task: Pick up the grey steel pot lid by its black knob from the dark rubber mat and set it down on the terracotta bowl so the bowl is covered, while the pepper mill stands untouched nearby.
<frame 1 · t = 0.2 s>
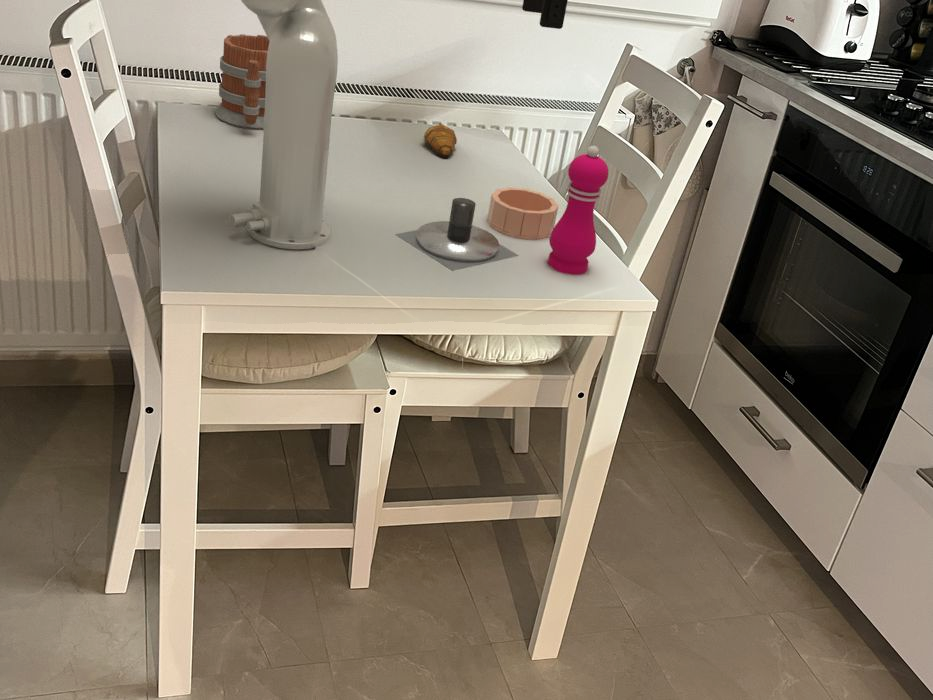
hand: (541, 19, 141), 36 cm above the table, tool pointing down, fingers open, 9 cm apart
mat: (456, 247, 158), on the table
lid: (457, 244, 158), resting on mat
mug: (251, 123, 196), on the table
pepper mill: (566, 268, 158), on the table
bowl: (519, 227, 169), on the table
croissant: (438, 149, 200), on the table
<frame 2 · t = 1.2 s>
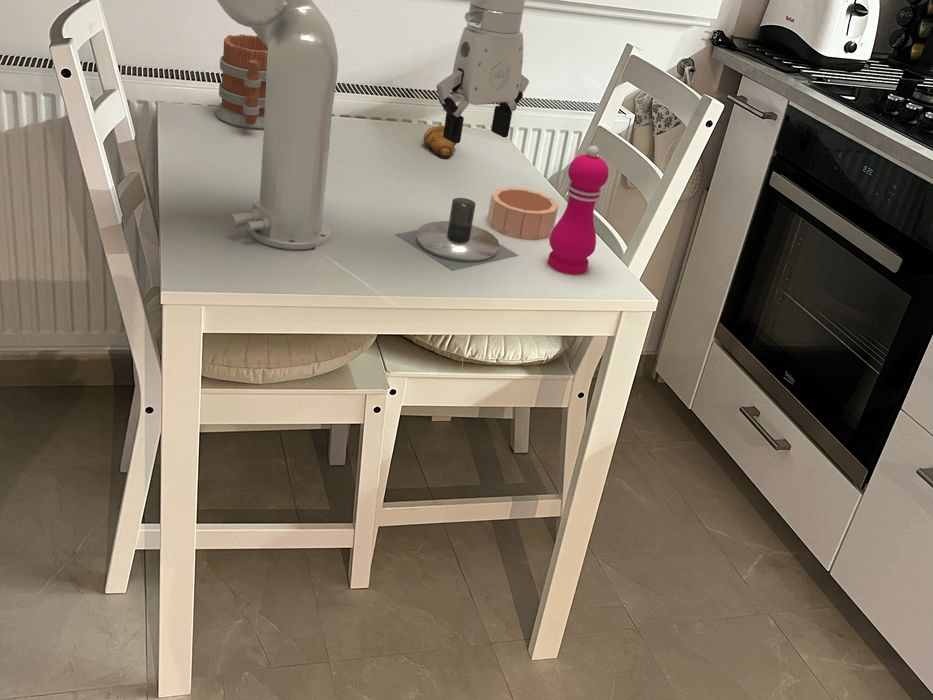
hand: (475, 137, 149), 18 cm above the table, tool pointing down, fingers open, 9 cm apart
nothing on the table moved.
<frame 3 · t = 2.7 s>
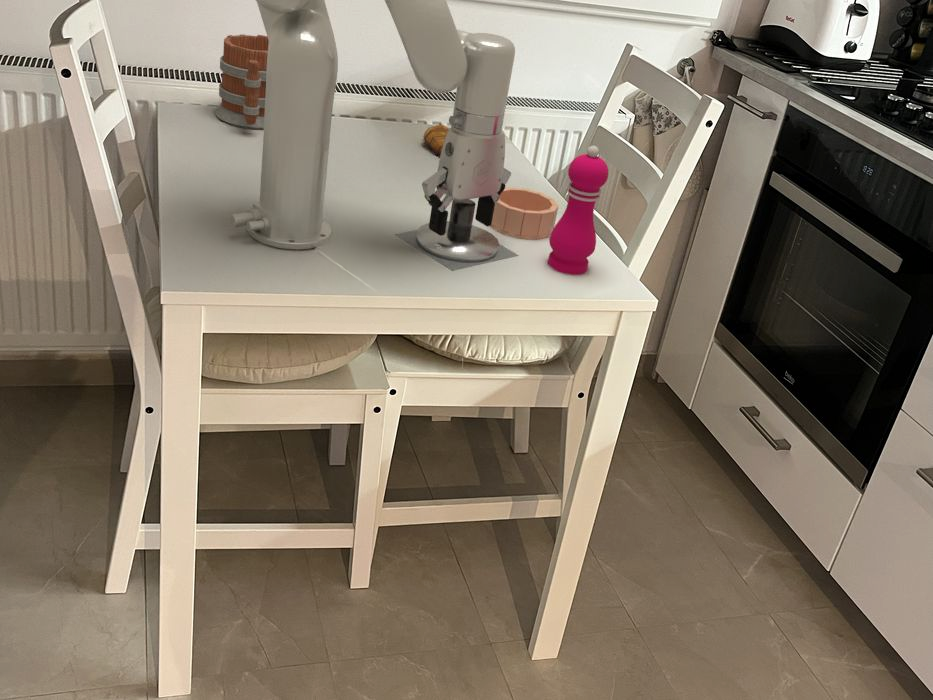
hand: (460, 227, 156), 3 cm above the table, tool pointing down, fingers open, 9 cm apart
nothing on the table moved.
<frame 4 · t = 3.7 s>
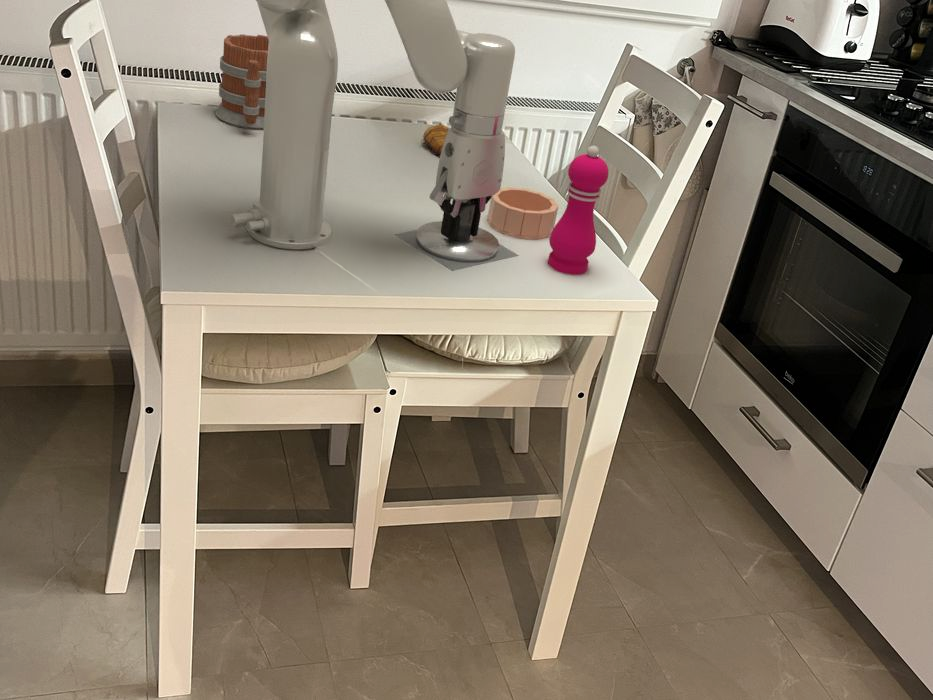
hand: (458, 234, 157), 2 cm above the table, tool pointing down, fingers closed on lid, 3 cm apart
lid: (457, 244, 158), resting on mat, touching gripper
everything else where it was.
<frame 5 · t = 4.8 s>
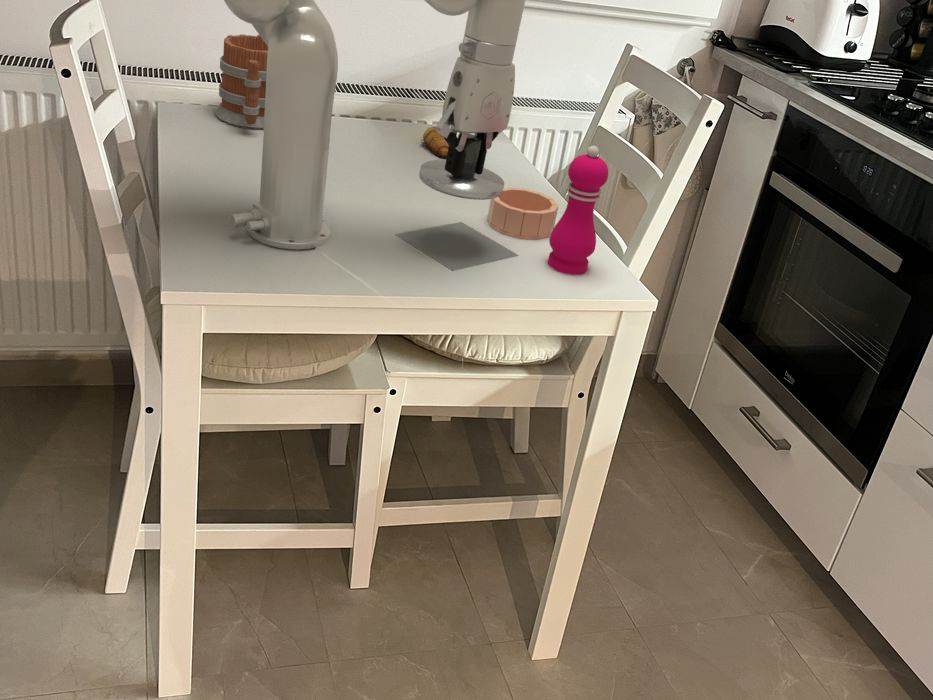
hand: (463, 171, 152), 13 cm above the table, tool pointing down, fingers closed on lid, 3 cm apart
lid: (461, 182, 153), point 11 cm above the table, touching gripper
everything else where it was.
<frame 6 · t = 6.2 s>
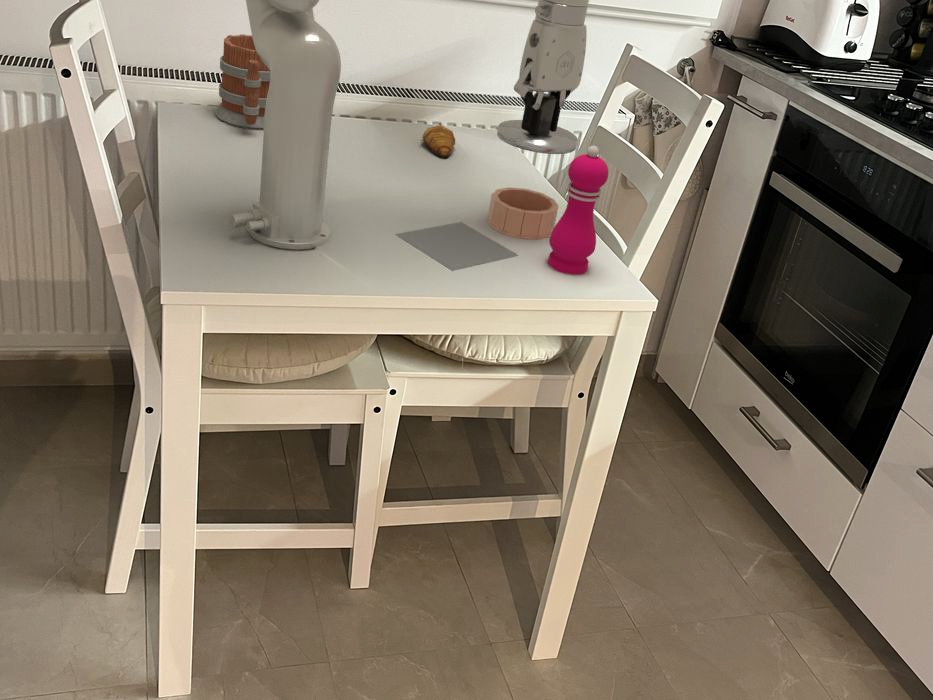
hand: (538, 129, 161), 17 cm above the table, tool pointing down, fingers closed on lid, 3 cm apart
lid: (536, 140, 162), point 15 cm above the table, touching gripper
everything else where it was.
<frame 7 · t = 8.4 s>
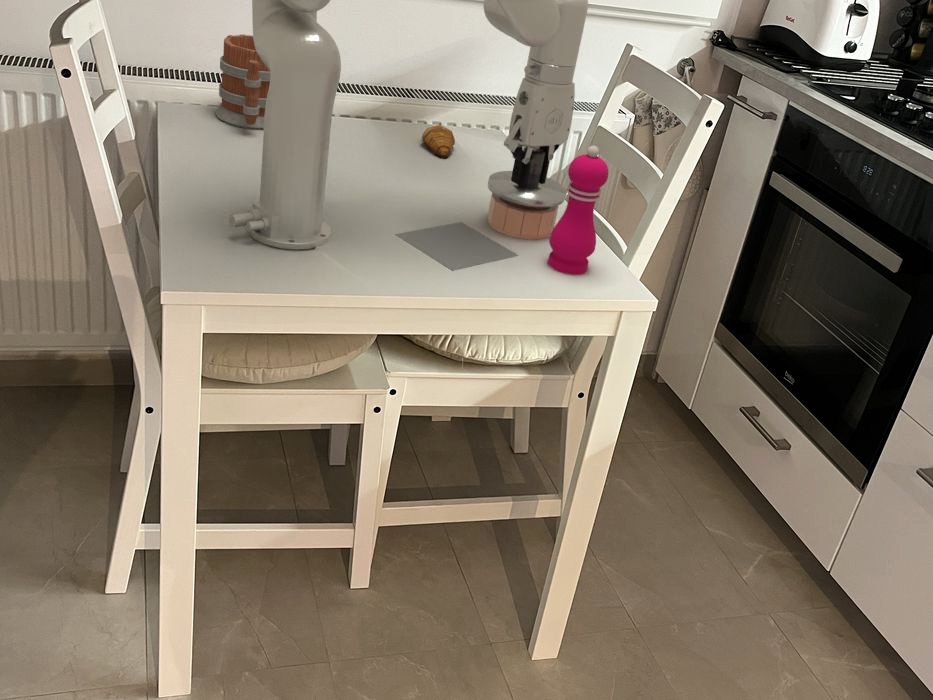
hand: (528, 181, 165), 8 cm above the table, tool pointing down, fingers closed on lid, 3 cm apart
lid: (526, 191, 166), point 6 cm above the table, touching gripper
everything else where it was.
when the fingers open (8 cm above the table, at t = 8.4 s): lid drops 1 cm, resting on bowl.
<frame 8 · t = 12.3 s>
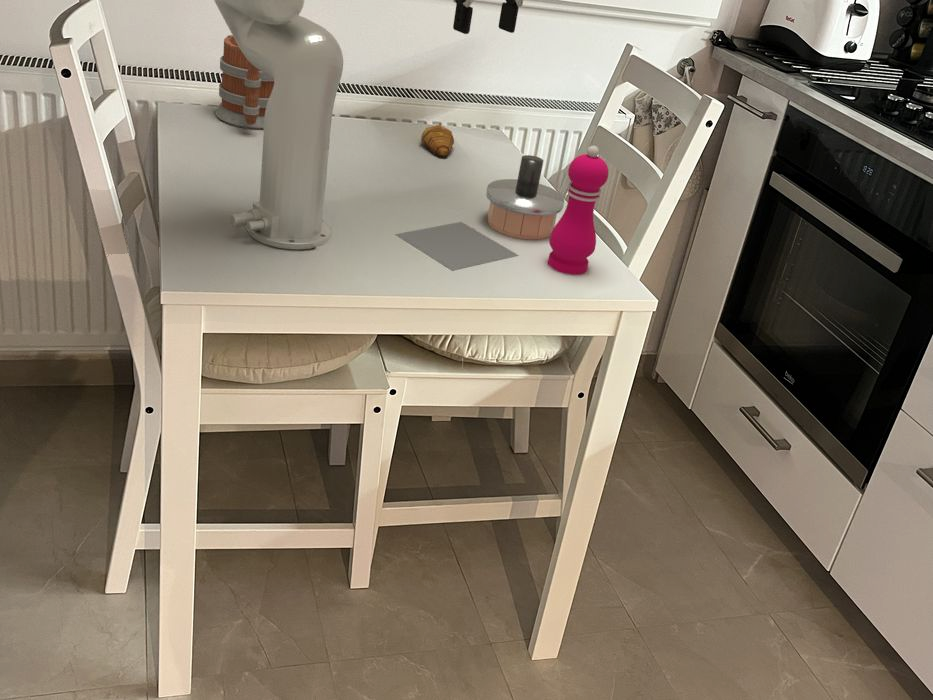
hand: (483, 31, 157), 30 cm above the table, tool pointing down, fingers open, 9 cm apart
lid: (524, 200, 167), point 5 cm above the table, touching bowl
everything else where it was.
at the end: lid 0.1 cm off-centre on the bowl, point 5.0 cm above the bowl's base; lid tilted 0°; the gripper is holding nothing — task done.
